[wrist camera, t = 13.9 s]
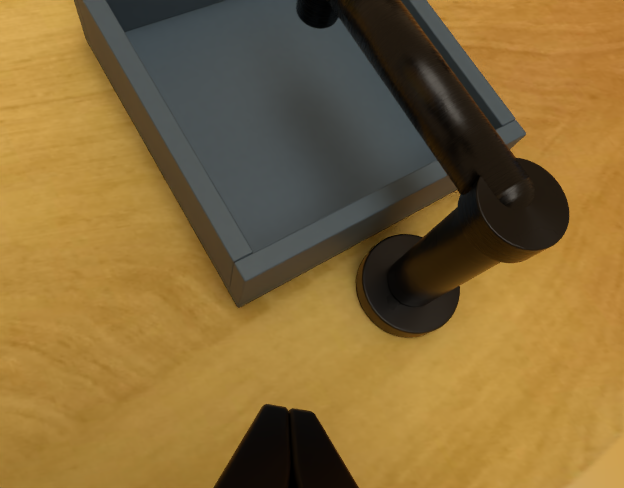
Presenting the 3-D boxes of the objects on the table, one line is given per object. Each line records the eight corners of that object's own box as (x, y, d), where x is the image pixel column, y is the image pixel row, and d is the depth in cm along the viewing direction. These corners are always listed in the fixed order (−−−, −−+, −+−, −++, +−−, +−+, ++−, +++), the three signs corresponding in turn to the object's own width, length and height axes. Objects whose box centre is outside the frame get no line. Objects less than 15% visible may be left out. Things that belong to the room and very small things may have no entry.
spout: (526, 256, 17) (596, 218, 14) (464, 295, 16) (524, 264, 13) (337, -15, 19) (361, -97, 16) (273, 6, 19) (286, -77, 15)
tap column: (462, 328, 23) (582, 281, 15) (368, 345, 21) (450, 304, 14) (435, 235, 24) (534, 152, 17) (346, 247, 23) (410, 163, 16)
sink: (479, 177, 25) (527, 133, 22) (238, 308, 21) (244, 282, 17) (327, -36, 28) (345, -108, 25) (85, 39, 24) (62, -35, 20)
